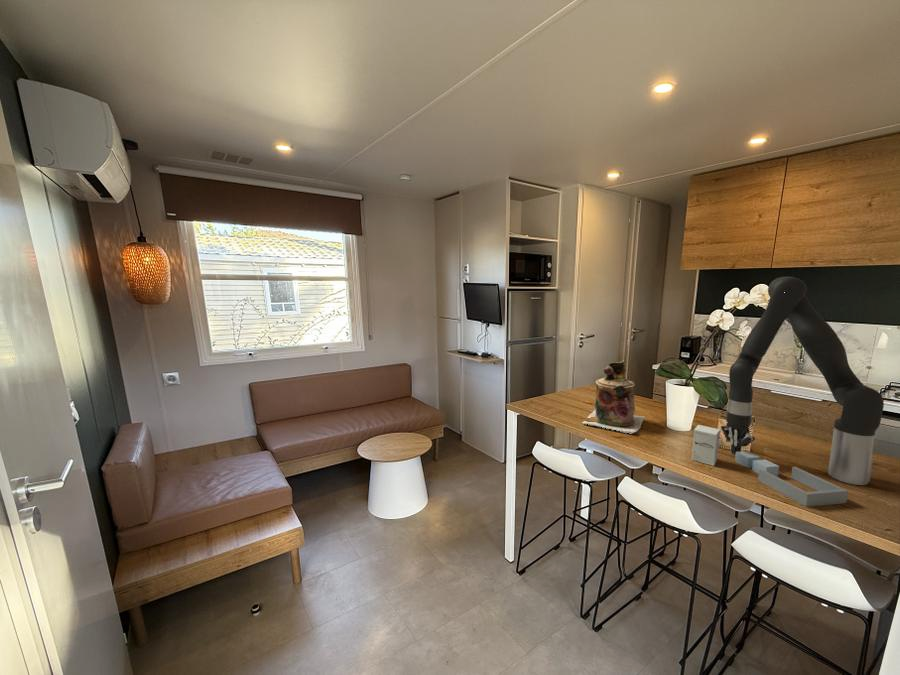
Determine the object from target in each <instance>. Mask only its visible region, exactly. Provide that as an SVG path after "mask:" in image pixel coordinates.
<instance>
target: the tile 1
mask: <svg viewBox="0 0 900 675" xmlns="http://www.w3.org/2000/svg"><path fill="white" fill-rule="evenodd" d="M734 457H735V459H734V462H736V463H737V464H739V465H741V466H743V467H745V468H747V469H749V468H751V469H752V466H753V460H761V456H759V455H757V454H754V453H753V452H750V451H749V450H745V451H741V452H736V455H734Z"/></svg>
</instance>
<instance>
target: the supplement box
mask: <svg viewBox="0 0 900 675" xmlns="http://www.w3.org/2000/svg"><path fill="white" fill-rule="evenodd" d="M720 435H721V428H720V429H719V428H715V427H709V426H707V425H706V426H705V425H701V424H697V426H695V428H694V430H693V439H692V450H691V451H692V452H691V461H695V462H699V463H703V464H706V465H709V466H712V467H715V464H716V463H717V461H718V456H719V455H718V454H719V447H720Z"/></svg>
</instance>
